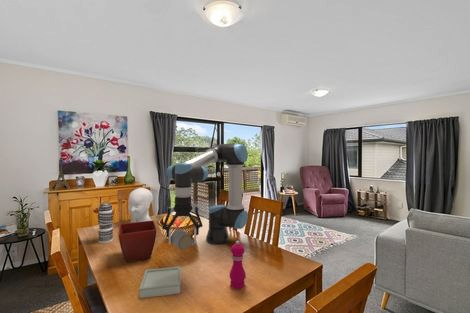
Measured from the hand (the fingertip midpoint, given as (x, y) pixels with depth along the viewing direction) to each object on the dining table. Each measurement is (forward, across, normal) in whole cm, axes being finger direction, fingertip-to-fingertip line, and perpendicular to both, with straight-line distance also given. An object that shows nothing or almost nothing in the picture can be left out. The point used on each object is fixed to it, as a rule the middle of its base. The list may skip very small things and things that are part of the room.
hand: (182, 242), depth 112 cm
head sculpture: (+16, +32, -92) cm, 99 cm away
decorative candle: (+17, +49, -60) cm, 79 cm away
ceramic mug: (+2, -1, -1) cm, 3 cm away
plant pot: (+17, +24, -31) cm, 43 cm away
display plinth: (+17, +9, +4) cm, 20 cm away
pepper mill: (+17, -24, +11) cm, 31 cm away
